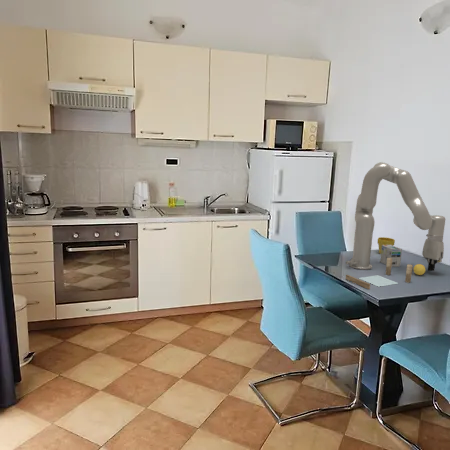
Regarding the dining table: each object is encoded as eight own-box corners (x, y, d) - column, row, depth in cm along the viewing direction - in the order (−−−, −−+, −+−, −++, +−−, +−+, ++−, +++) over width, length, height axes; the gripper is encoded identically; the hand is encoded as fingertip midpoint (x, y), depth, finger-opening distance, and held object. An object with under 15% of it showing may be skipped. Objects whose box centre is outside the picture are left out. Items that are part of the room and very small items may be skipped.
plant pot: (396, 255, 267) (398, 240, 265) (383, 256, 264) (384, 241, 262) (386, 251, 277) (387, 236, 275) (372, 251, 274) (374, 237, 272)
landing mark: (378, 286, 205) (378, 286, 205) (357, 278, 217) (357, 278, 217) (398, 283, 211) (398, 283, 211) (377, 275, 223) (377, 275, 223)
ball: (419, 277, 223) (420, 266, 222) (410, 273, 228) (411, 263, 227) (427, 275, 225) (428, 265, 224) (417, 272, 231) (419, 262, 230)
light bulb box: (400, 266, 241) (402, 248, 239) (390, 267, 240) (392, 249, 238) (389, 261, 252) (391, 244, 250) (379, 262, 250) (381, 244, 248)
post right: (408, 282, 212) (410, 265, 211) (403, 281, 215) (405, 264, 213) (411, 282, 213) (413, 265, 212) (407, 280, 216) (409, 264, 214)
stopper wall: (368, 289, 200) (368, 284, 200) (345, 279, 215) (345, 274, 214) (369, 289, 201) (370, 284, 200) (346, 279, 215) (347, 274, 214)
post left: (388, 275, 224) (389, 259, 222) (384, 273, 226) (386, 258, 224) (391, 274, 225) (393, 258, 223) (387, 273, 227) (389, 257, 226)
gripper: (418, 235, 232) (414, 267, 235) (442, 241, 219) (438, 275, 222) (427, 234, 235) (424, 266, 239) (452, 240, 222) (447, 273, 226)
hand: (430, 270), depth 231 cm, fingers closed
